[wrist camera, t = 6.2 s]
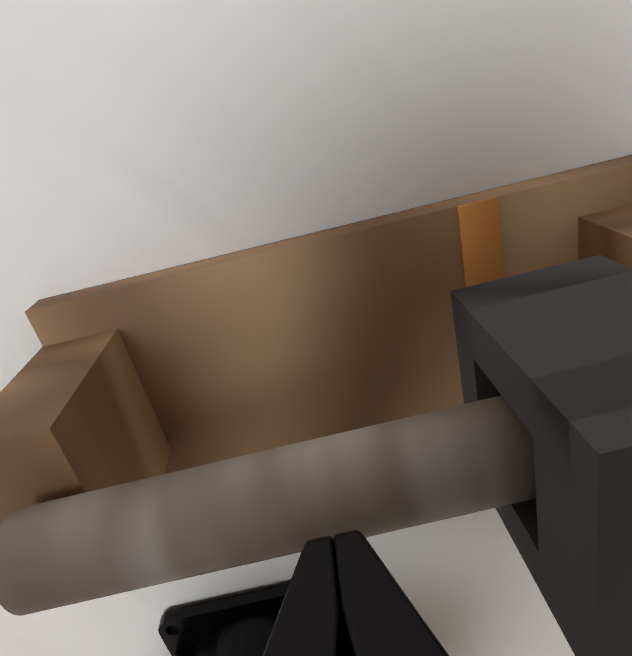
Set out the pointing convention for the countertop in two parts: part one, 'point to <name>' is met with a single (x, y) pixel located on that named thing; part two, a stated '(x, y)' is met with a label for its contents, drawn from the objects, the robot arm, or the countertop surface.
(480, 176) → the countertop surface
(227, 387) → the rail
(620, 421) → the charcoal grey block
